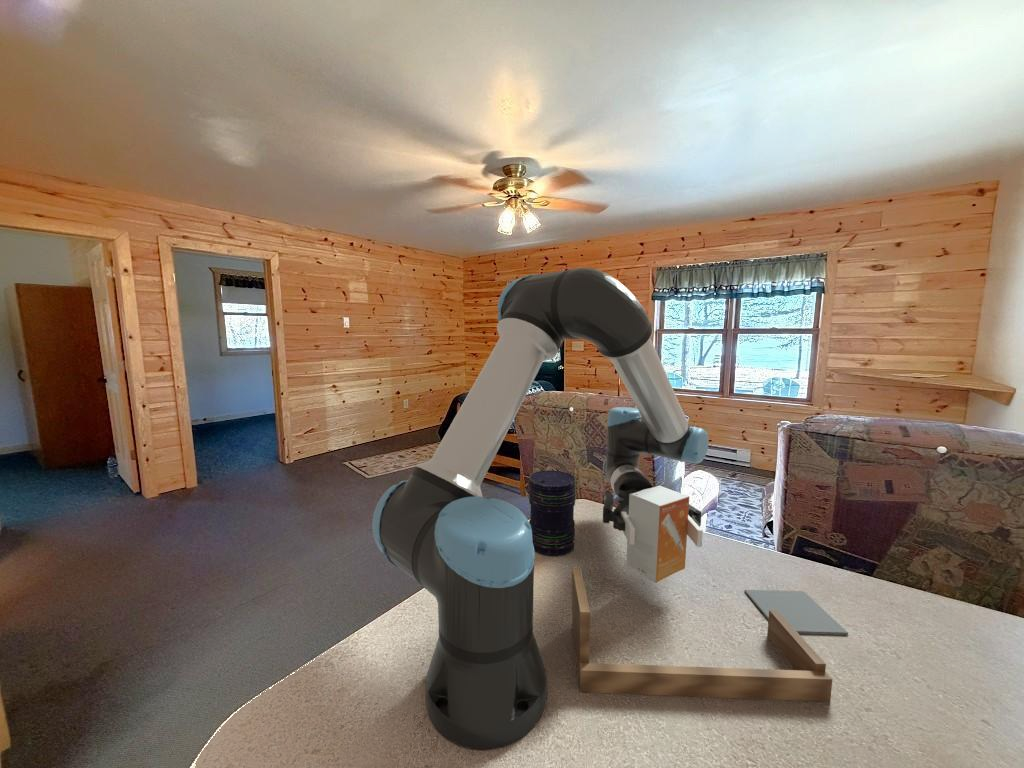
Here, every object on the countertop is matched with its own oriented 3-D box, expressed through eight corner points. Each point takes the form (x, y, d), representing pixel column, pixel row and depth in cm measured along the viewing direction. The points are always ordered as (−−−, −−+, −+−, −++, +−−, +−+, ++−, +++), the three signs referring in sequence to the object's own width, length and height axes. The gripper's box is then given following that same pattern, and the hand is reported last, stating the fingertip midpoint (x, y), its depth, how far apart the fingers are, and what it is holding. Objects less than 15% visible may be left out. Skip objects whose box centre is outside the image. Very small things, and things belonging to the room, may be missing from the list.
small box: (656, 584, 65) (659, 505, 64) (625, 566, 70) (627, 493, 69) (686, 569, 69) (690, 495, 68) (655, 553, 75) (658, 484, 73)
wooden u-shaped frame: (580, 692, 51) (581, 618, 50) (571, 628, 62) (572, 567, 61) (830, 701, 50) (837, 626, 49) (775, 635, 61) (780, 572, 60)
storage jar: (550, 529, 95) (550, 467, 93) (584, 545, 87) (585, 478, 86) (519, 544, 88) (519, 477, 86) (553, 562, 81) (554, 490, 79)
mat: (779, 633, 61) (779, 630, 61) (744, 591, 71) (744, 589, 71) (847, 635, 61) (848, 632, 61) (803, 593, 71) (803, 591, 71)
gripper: (684, 506, 87) (736, 562, 65) (578, 503, 88) (594, 557, 66) (686, 472, 86) (739, 517, 64) (579, 469, 87) (595, 512, 65)
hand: (665, 537), depth 65 cm, fingers closed on small box, 10 cm apart
